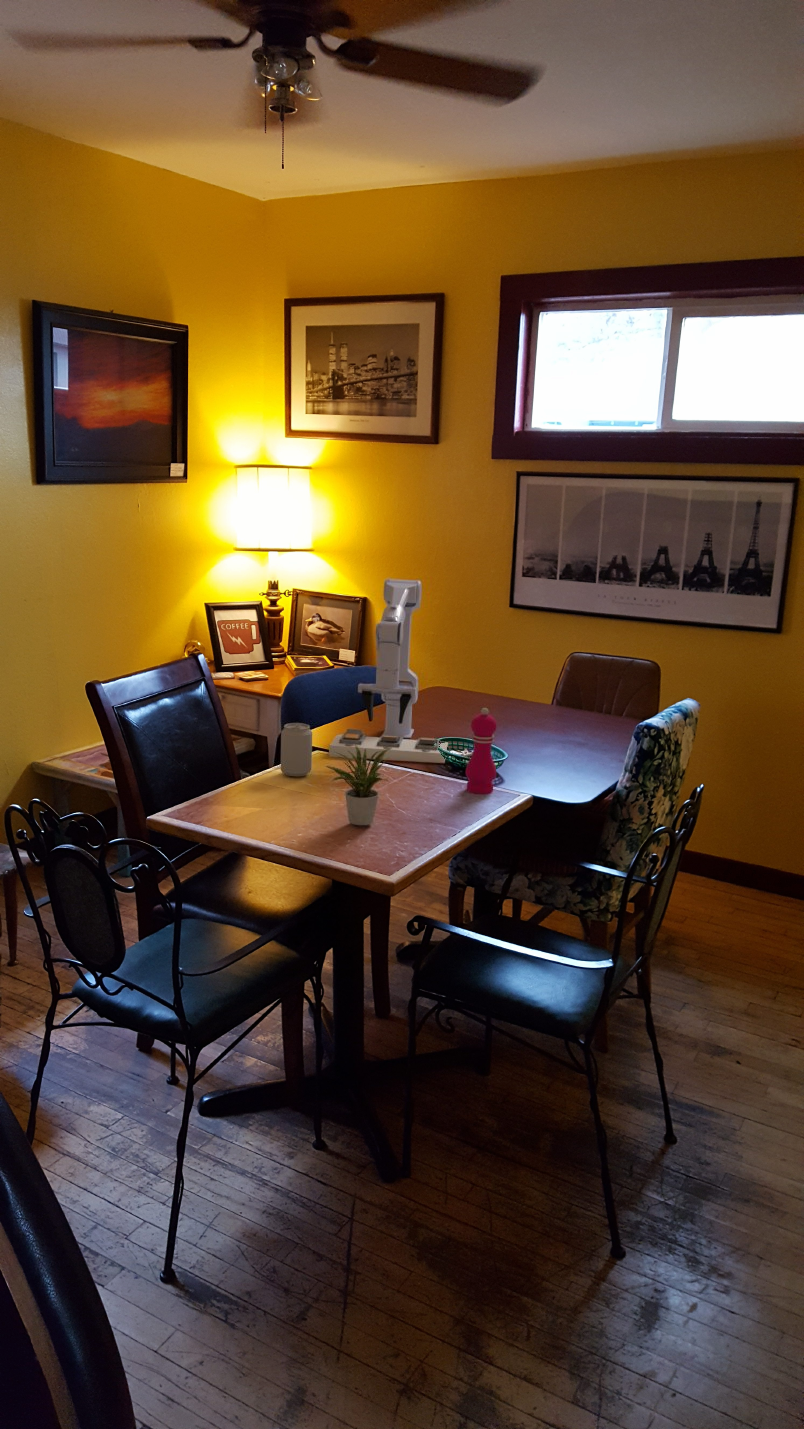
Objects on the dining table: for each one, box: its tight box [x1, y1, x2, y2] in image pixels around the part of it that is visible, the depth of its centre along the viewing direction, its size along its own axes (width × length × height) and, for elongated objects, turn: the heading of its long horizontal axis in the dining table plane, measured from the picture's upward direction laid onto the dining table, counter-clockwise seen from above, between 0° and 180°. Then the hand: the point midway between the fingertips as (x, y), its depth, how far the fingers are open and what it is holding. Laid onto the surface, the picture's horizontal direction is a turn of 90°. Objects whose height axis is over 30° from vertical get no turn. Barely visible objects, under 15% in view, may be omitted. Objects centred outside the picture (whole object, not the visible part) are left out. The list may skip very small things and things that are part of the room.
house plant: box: [325, 745, 392, 826], centre depth 215 cm, size 14×14×16 cm
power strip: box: [328, 732, 449, 764], centre depth 268 cm, size 12×42×4 cm, turn 83°
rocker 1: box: [344, 728, 363, 741], centre depth 270 cm, size 6×4×1 cm, turn 173°
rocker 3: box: [419, 737, 437, 744], centre depth 268 cm, size 6×4×1 cm, turn 173°
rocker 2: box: [380, 735, 399, 742], centre depth 269 cm, size 6×4×1 cm, turn 173°
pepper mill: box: [465, 707, 498, 795], centre depth 239 cm, size 7×7×20 cm
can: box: [280, 722, 313, 777], centre depth 248 cm, size 8×8×12 cm
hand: (385, 721), depth 258 cm, fingers open, 7 cm apart
